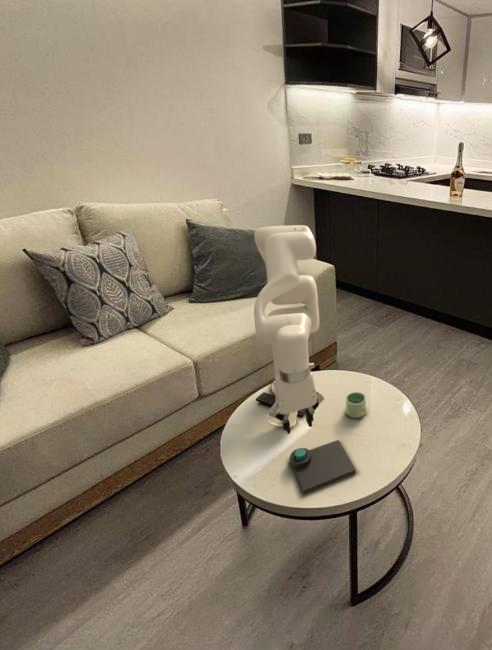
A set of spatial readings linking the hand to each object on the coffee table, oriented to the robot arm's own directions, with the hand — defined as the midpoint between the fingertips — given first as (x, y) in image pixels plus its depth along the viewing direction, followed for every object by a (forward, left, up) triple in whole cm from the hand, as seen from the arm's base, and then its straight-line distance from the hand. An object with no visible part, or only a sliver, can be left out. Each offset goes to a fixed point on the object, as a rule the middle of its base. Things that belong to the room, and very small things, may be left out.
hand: (298, 426), depth 112 cm
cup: (-18, 0, -14) cm, 23 cm away
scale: (+4, +5, -13) cm, 15 cm away
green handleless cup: (-13, +23, -13) cm, 30 cm away
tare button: (0, 0, -11) cm, 11 cm away
